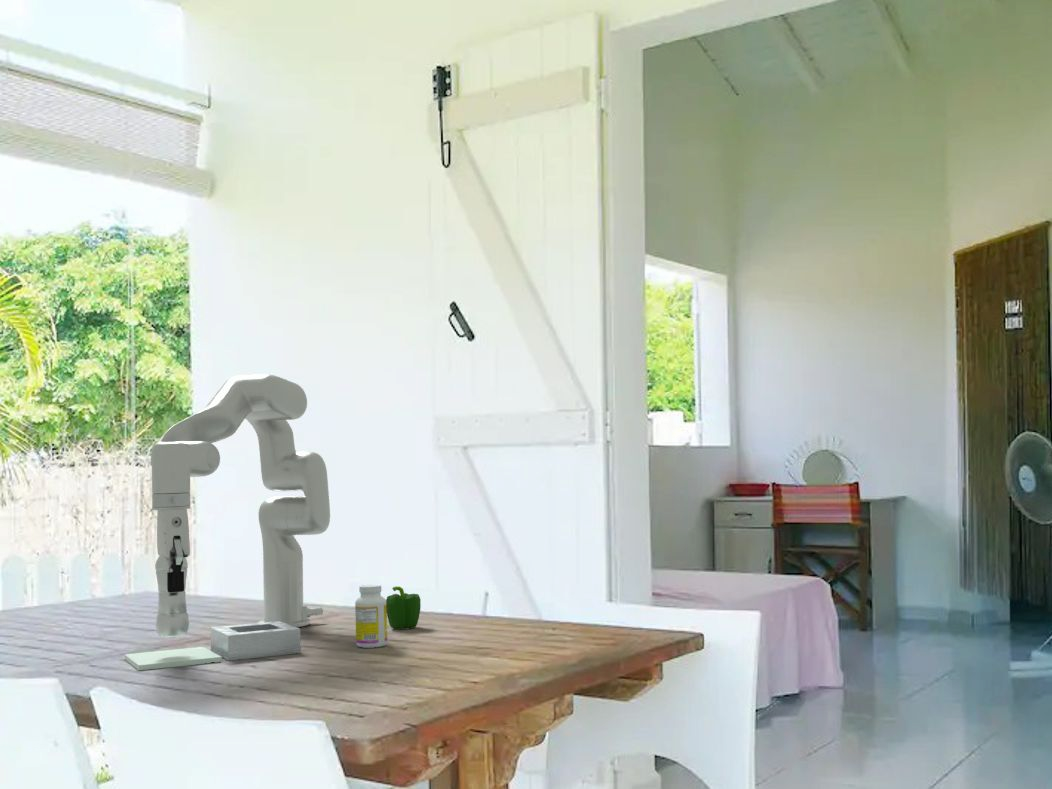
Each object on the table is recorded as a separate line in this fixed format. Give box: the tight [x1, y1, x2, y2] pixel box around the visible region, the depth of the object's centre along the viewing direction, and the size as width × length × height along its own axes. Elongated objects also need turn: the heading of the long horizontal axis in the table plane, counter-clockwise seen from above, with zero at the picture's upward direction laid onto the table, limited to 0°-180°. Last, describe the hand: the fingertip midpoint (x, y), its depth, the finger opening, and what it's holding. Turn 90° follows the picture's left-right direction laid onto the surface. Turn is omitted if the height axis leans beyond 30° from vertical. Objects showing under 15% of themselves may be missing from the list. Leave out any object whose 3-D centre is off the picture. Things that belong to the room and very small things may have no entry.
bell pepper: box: [385, 585, 422, 630], centre depth 272 cm, size 8×8×10 cm
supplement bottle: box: [354, 584, 388, 649], centre depth 246 cm, size 7×7×13 cm
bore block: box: [210, 621, 302, 661], centre depth 241 cm, size 15×15×5 cm
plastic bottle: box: [154, 554, 190, 639], centre depth 234 cm, size 6×7×20 cm
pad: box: [124, 646, 223, 671], centre depth 233 cm, size 16×16×1 cm
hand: (172, 589), depth 234 cm, fingers closed on plastic bottle, 6 cm apart
